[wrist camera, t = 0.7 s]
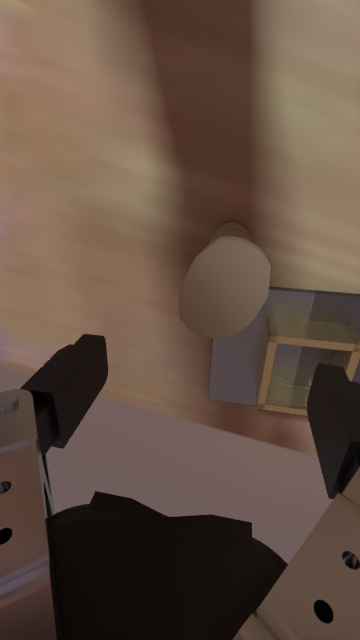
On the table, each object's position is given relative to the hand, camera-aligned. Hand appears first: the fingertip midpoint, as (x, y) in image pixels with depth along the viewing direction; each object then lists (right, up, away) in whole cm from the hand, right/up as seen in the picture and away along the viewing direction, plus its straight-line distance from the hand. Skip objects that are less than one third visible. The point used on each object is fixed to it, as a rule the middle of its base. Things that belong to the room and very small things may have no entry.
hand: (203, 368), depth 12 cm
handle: (+4, +10, +20) cm, 23 cm away
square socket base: (+13, -2, +24) cm, 28 cm away
